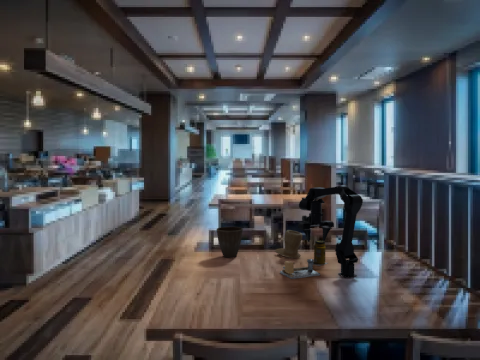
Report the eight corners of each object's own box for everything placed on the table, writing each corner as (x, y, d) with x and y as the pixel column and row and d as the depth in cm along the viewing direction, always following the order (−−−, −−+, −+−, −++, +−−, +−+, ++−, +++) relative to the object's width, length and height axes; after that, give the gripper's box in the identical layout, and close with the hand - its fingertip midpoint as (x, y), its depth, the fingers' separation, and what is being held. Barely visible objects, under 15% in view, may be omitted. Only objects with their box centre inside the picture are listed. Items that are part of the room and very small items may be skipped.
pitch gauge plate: (320, 275, 209) (320, 262, 208) (291, 279, 202) (291, 265, 202) (307, 269, 219) (307, 257, 218) (280, 273, 212) (280, 260, 212)
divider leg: (293, 273, 207) (293, 262, 206) (288, 274, 206) (289, 263, 205) (287, 270, 212) (287, 260, 212) (282, 270, 211) (282, 260, 211)
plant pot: (212, 258, 242) (212, 230, 241) (221, 252, 256) (221, 225, 255) (238, 260, 237) (238, 231, 236) (245, 254, 251) (245, 227, 250)
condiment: (328, 263, 232) (329, 241, 231) (319, 266, 226) (319, 243, 225) (317, 260, 237) (317, 239, 236) (308, 263, 231) (308, 241, 230)
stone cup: (306, 258, 243) (306, 231, 242) (288, 260, 238) (288, 233, 237) (291, 252, 257) (291, 227, 256) (274, 254, 251) (274, 229, 251)
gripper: (322, 209, 236) (323, 237, 236) (292, 211, 229) (293, 240, 230) (334, 211, 226) (334, 240, 226) (303, 213, 219) (303, 243, 219)
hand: (316, 241), depth 226 cm, fingers open, 9 cm apart
